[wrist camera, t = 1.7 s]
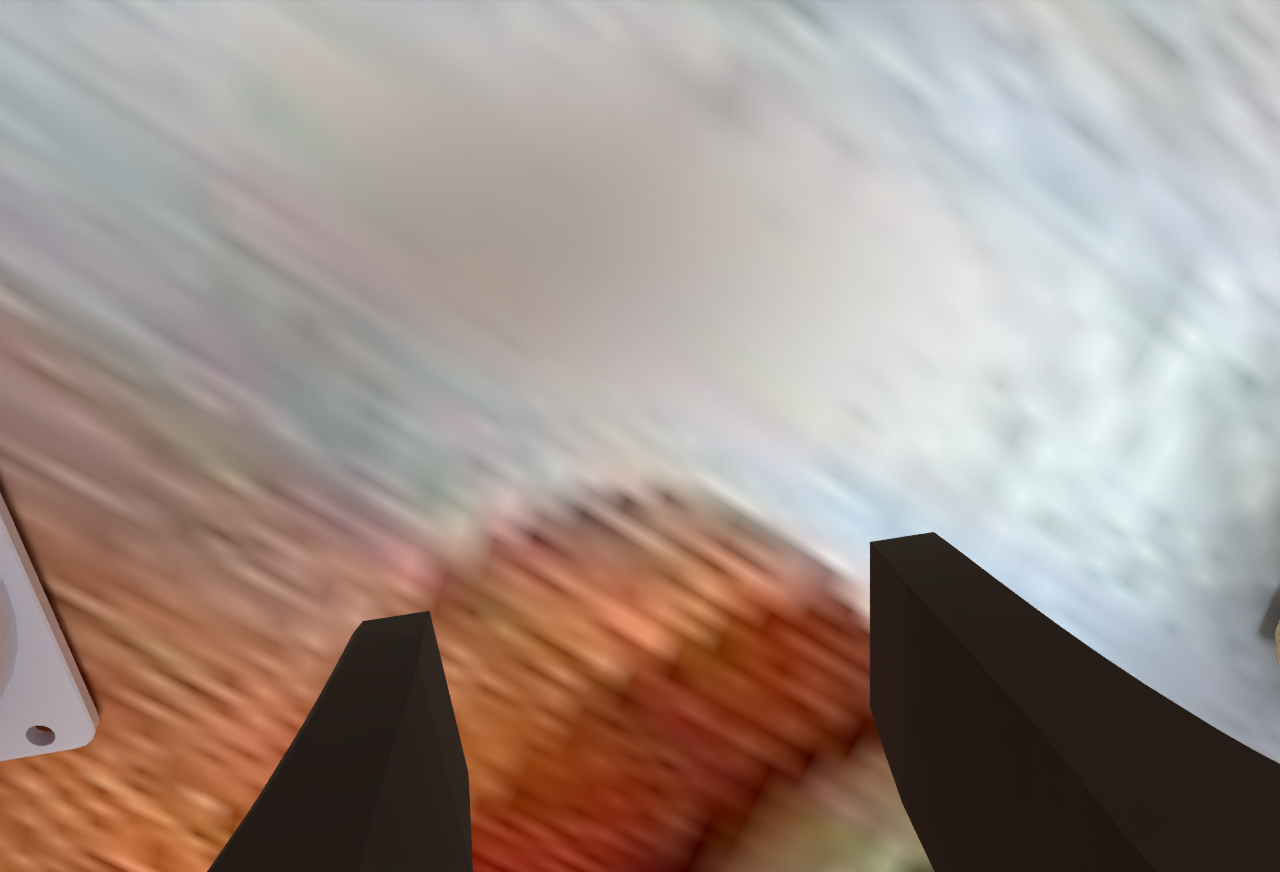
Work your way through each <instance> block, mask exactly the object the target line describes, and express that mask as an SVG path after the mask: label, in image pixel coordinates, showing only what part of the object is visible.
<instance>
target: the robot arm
mask: <svg viewBox="0 0 1280 872" xmlns="http://www.w3.org/2000/svg"><path fill="white" fill-rule="evenodd" d="M870 708H871V711H872V714H873V717H874V720H875V723H876V727H877V730H878V733H879V736H880V739H881V742H882V745H883V748H884V751H885V754H886V757H887V760H888V763H889V766H890V769H891V772H892V775H893V778H894V780H895V783H896V786H897V789H898V792H899V795H900V798H901V801H902V803H903V805H904V808H905V810H906V812H907V814H908V816H909V818H910V820H911V823H912V825H913V827H914V829H915V831H916V833H917V835H918V838H919V840H920V842H921V844H922V846H923V848H924V850H925V852H926V854H927V857H928V859H929V861H930V863H931V865H932V867H933V869H934V871H935V872H1280V764H1279V763H1277V762H1275V761H1273V760H1271V759H1269V758H1268V757H1266V756H1264V755H1262V754H1260V753H1258V752H1256V751H1254V750H1253V749H1251V748H1249V747H1247V746H1246V745H1244V744H1242V743H1240V742H1239V741H1237V740H1235V739H1233V738H1232V737H1230V736H1228V735H1227V734H1225V733H1223V732H1221V731H1220V730H1218V729H1216V728H1215V727H1213V726H1211V725H1209V724H1208V723H1206V722H1205V721H1203V720H1201V719H1200V718H1198V717H1197V716H1195V715H1193V714H1192V713H1190V712H1189V711H1187V710H1185V709H1184V708H1182V707H1181V706H1179V705H1177V704H1176V703H1174V702H1173V701H1171V700H1169V699H1168V698H1166V697H1164V696H1163V695H1161V694H1160V693H1158V692H1156V691H1155V690H1153V689H1152V688H1150V687H1148V686H1147V685H1145V684H1144V683H1142V682H1141V681H1139V680H1138V679H1136V678H1135V677H1133V676H1132V675H1130V674H1129V673H1127V672H1126V671H1124V670H1123V669H1121V668H1120V667H1118V666H1117V665H1115V664H1114V663H1112V662H1111V661H1109V660H1108V659H1106V658H1105V657H1103V656H1102V655H1100V654H1099V653H1097V652H1096V651H1095V650H1093V649H1092V648H1090V647H1089V646H1087V645H1086V644H1084V643H1083V642H1082V641H1080V640H1079V639H1077V638H1076V637H1075V636H1073V635H1072V634H1070V633H1069V632H1067V631H1066V630H1065V629H1063V628H1062V627H1060V626H1059V625H1058V624H1056V623H1055V622H1054V621H1052V620H1051V619H1049V618H1048V617H1047V616H1045V615H1044V614H1042V613H1041V612H1040V611H1038V610H1037V609H1036V608H1034V607H1033V606H1032V605H1030V604H1029V603H1028V602H1026V601H1025V600H1024V599H1022V598H1021V597H1020V596H1018V595H1017V594H1015V593H1014V592H1013V591H1011V590H1010V589H1009V588H1007V587H1006V586H1005V585H1003V584H1002V583H1001V582H999V581H998V580H997V579H995V578H994V577H993V576H992V575H990V574H989V573H988V572H986V571H985V570H984V569H982V568H981V567H980V566H978V565H977V564H976V563H974V562H973V561H972V560H970V559H969V558H968V557H967V556H965V555H964V554H963V553H961V552H960V551H959V550H957V549H956V548H955V547H953V546H952V545H951V544H949V543H948V542H947V541H945V540H944V539H942V538H941V537H940V536H938V535H937V534H936V533H934V532H931V533H925V534H918V535H912V536H906V537H899V538H893V539H886V540H880V541H874V542H870ZM36 725H38V726H46V727H48V728H50V729H51V730H52V732H44V731H42V730H39V729H37V728H36V727H35V726H36ZM98 725H99V716H98V713H97V710H96V708H95V706H94V704H93V701H92V699H91V697H90V695H89V692H88V690H87V688H86V686H85V683H84V681H83V679H82V676H81V674H80V672H79V670H78V667H77V665H76V663H75V661H74V658H73V656H72V654H71V652H70V649H69V647H68V645H67V642H66V640H65V638H64V636H63V633H62V631H61V629H60V627H59V624H58V622H57V620H56V618H55V615H54V613H53V611H52V608H51V606H50V604H49V602H48V599H47V597H46V595H45V593H44V590H43V588H42V586H41V584H40V581H39V579H38V577H37V574H36V572H35V570H34V568H33V565H32V563H31V561H30V559H29V556H28V554H27V552H26V550H25V547H24V545H23V543H22V541H21V538H20V536H19V534H18V531H17V529H16V527H15V525H14V522H13V520H12V518H11V516H10V513H9V511H8V509H7V507H6V504H5V502H4V500H3V497H2V495H1V493H0V761H6V760H12V759H18V758H23V757H29V756H35V755H41V754H47V753H53V752H59V751H64V750H70V749H76V748H79V747H82V746H85V745H87V744H88V743H89V742H90V741H92V740H93V737H94V735H95V732H96V730H97V727H98ZM207 872H473V866H472V840H471V817H470V797H469V777H468V770H467V765H466V761H465V757H464V753H463V749H462V745H461V740H460V736H459V732H458V728H457V724H456V720H455V715H454V711H453V707H452V703H451V699H450V695H449V690H448V686H447V682H446V678H445V674H444V669H443V665H442V661H441V657H440V653H439V649H438V644H437V640H436V636H435V632H434V628H433V624H432V619H431V615H430V611H426V612H419V613H413V614H406V615H400V616H394V617H387V618H381V619H374V620H368V621H363V622H362V623H361V624H360V626H359V627H358V628H357V629H356V630H355V632H354V633H353V635H352V636H351V638H350V640H349V642H348V644H347V646H346V648H345V650H344V652H343V654H342V655H341V657H340V659H339V661H338V663H337V665H336V667H335V668H334V670H333V672H332V674H331V676H330V678H329V679H328V681H327V683H326V685H325V687H324V688H323V690H322V692H321V694H320V696H319V697H318V699H317V701H316V703H315V704H314V706H313V708H312V710H311V711H310V713H309V715H308V716H307V718H306V720H305V722H304V723H303V725H302V727H301V729H300V730H299V732H298V734H297V735H296V737H295V739H294V740H293V742H292V743H291V745H290V747H289V748H288V750H287V752H286V753H285V755H284V756H283V758H282V760H281V761H280V763H279V764H278V766H277V768H276V769H275V771H274V773H273V774H272V776H271V777H270V779H269V781H268V782H267V784H266V785H265V787H264V789H263V790H262V792H261V794H260V795H259V797H258V798H257V800H256V801H255V803H254V804H253V806H252V807H251V809H250V810H249V812H248V814H247V815H246V816H245V818H244V819H243V821H242V822H241V824H240V825H239V826H238V828H237V829H236V831H235V832H234V834H233V835H232V837H231V838H230V839H229V841H228V842H227V844H226V845H225V847H224V848H223V850H222V851H221V852H220V854H219V855H218V857H217V858H216V860H215V861H214V862H213V864H212V865H211V867H210V868H209V870H208V871H207Z"/></svg>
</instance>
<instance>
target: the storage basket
mask: <svg viewBox="0 0 1280 872" xmlns="http://www.w3.org/2000/svg"><path fill="white" fill-rule="evenodd" d="M1275 640H1276V644H1277V648H1276V655H1277V659H1278V663H1279V665H1280V620H1279V623H1278V625H1277V628H1276V633H1275Z"/></svg>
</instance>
